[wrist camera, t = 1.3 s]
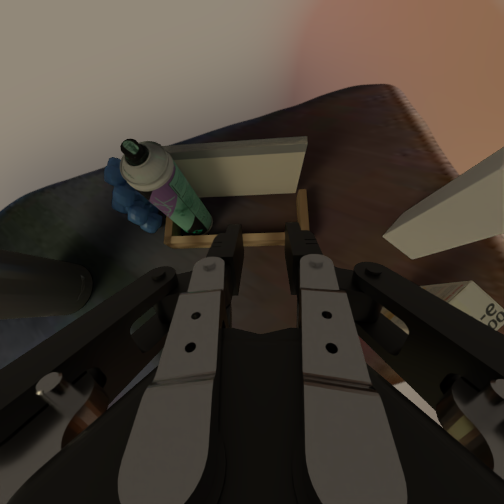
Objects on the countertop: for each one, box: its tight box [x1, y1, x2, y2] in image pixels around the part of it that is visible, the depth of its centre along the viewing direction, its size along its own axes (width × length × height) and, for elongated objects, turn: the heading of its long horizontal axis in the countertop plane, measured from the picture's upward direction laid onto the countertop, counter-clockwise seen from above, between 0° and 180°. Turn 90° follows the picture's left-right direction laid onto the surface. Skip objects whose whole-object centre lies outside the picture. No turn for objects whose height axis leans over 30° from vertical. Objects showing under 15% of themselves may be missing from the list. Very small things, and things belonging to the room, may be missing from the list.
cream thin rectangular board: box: [162, 136, 308, 198], centre depth 33 cm, size 21×1×13 cm, turn 91°
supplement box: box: [380, 281, 504, 335], centre depth 26 cm, size 8×5×13 cm, turn 128°
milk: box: [382, 147, 504, 259], centre depth 25 cm, size 6×6×22 cm
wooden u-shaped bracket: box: [164, 189, 309, 249], centre depth 37 cm, size 24×9×4 cm, turn 91°
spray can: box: [120, 139, 213, 236], centre depth 29 cm, size 6×6×20 cm
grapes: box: [104, 157, 162, 233], centre depth 34 cm, size 12×7×12 cm, turn 22°
